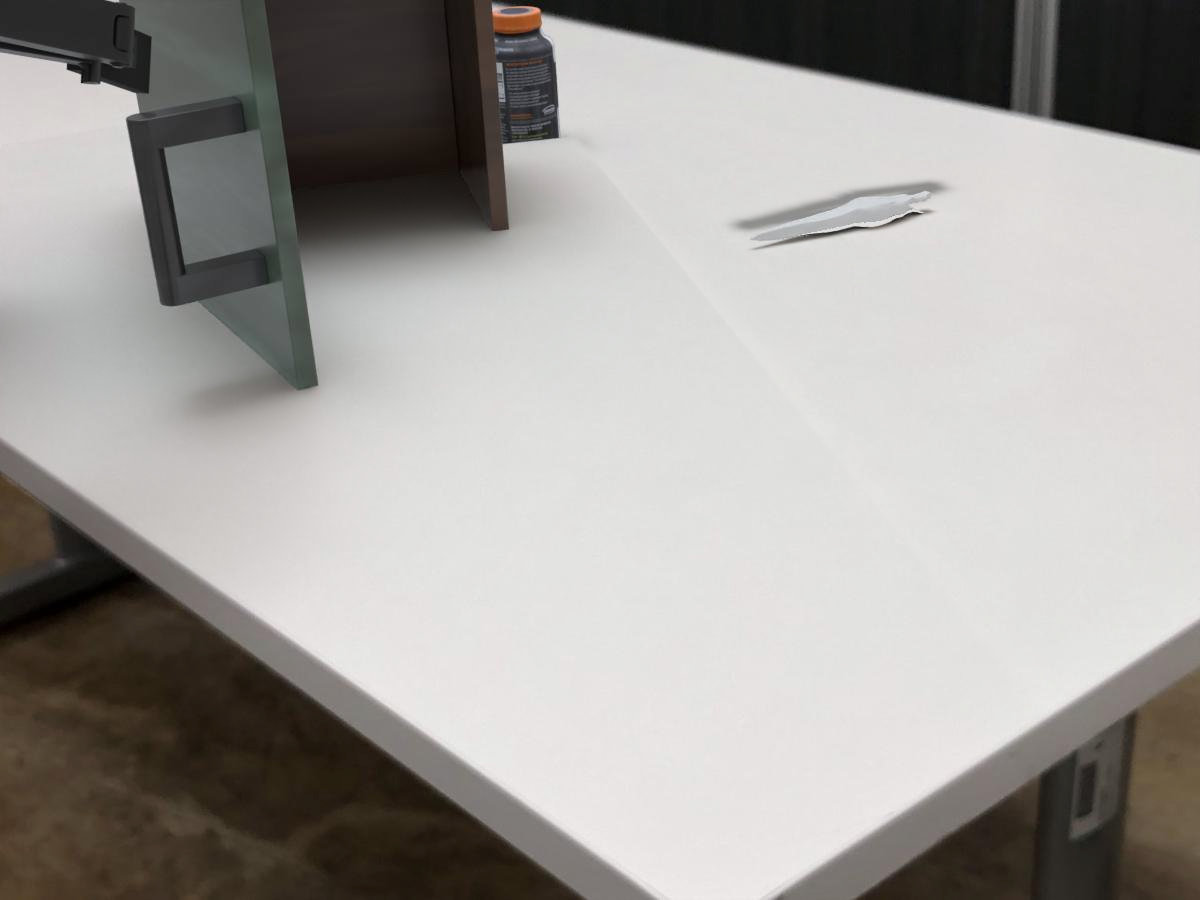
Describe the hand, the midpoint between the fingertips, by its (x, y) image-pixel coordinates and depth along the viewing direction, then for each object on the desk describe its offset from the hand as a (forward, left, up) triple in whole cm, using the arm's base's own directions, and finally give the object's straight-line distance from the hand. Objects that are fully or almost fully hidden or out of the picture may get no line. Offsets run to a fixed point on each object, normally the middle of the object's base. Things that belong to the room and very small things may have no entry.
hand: (13, 58), depth 77 cm
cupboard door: (+5, +8, -20) cm, 23 cm away
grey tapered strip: (+50, +17, -21) cm, 57 cm away
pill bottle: (+33, +46, -21) cm, 60 cm away
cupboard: (+16, +29, -21) cm, 39 cm away
